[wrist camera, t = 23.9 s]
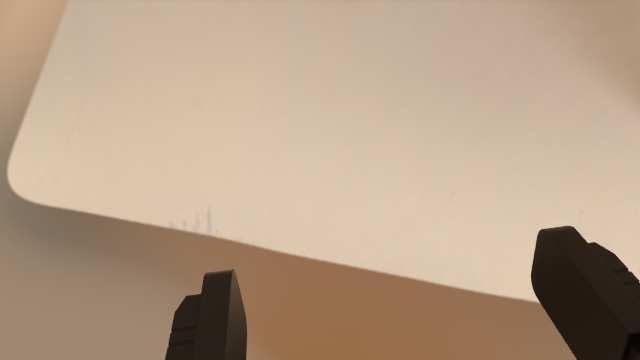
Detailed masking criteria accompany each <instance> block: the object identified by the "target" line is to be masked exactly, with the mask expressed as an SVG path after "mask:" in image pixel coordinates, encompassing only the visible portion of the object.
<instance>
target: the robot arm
mask: <svg viewBox="0 0 640 360" xmlns="http://www.w3.org/2000/svg"><path fill="white" fill-rule="evenodd" d="M531 281H532V286H533V290H534V292H535V295H536V297H537V298H538V300H539V301H540V303H541V305H542V306H543V308H544V309H545V311H546V312H547V314H548V315H549V317H550V318H551V320H552V322H553V323H554V325H555V326H556V328H557V329H558V331H559V332H560V334H561V336H562V337H563V339H564V340H565V342H566V343H567V345H568V346H569V348H570V350H571V351H572V353H573V354H574V356H575V357H576V359H577V360H640V283H639V280H638V279H637V278H636V277H635V276H634V274H633V273H632V272H631V271H630V272H629V271H628V268H627V267H626V266H625V265H624V264H623V263H622V261H621V260H620V259H619V258H618V257H617V256H616V255H615V254H614V253H612V252H610V251H609V250H607V249H605V248H604V247H602V246H600V245H599V244H597V243H595V242H593V243H587V242H586V240H585V239H584V238H583V237H582V236H581V235H580V234H579V232H578V231H577V230H576V229H575V228H574V227H572V226H563V227H555V228H548V229H542V230H540V231H539V233H538V235H537V241H536V247H535V253H534V259H533V265H532V271H531ZM171 330H172V333H171V334H170V339H169V347H168V349H167V353H166V358H165V360H246V346H247V325H246V315H245V310H244V306H243V302H242V298H241V293H240V289H239V285H238V281H237V277H236V273H235V271H234V269H232V270H225V271H218V272H210V273H205V275H204V280H203V286H202V293H201V294H198V295H190V296H186V297H185V299H184V300H183V301H182V303H181V304H180V306H179V307H178V309H177V310H176V311H175V314H174V319H173V324H172V329H171Z"/></svg>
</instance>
